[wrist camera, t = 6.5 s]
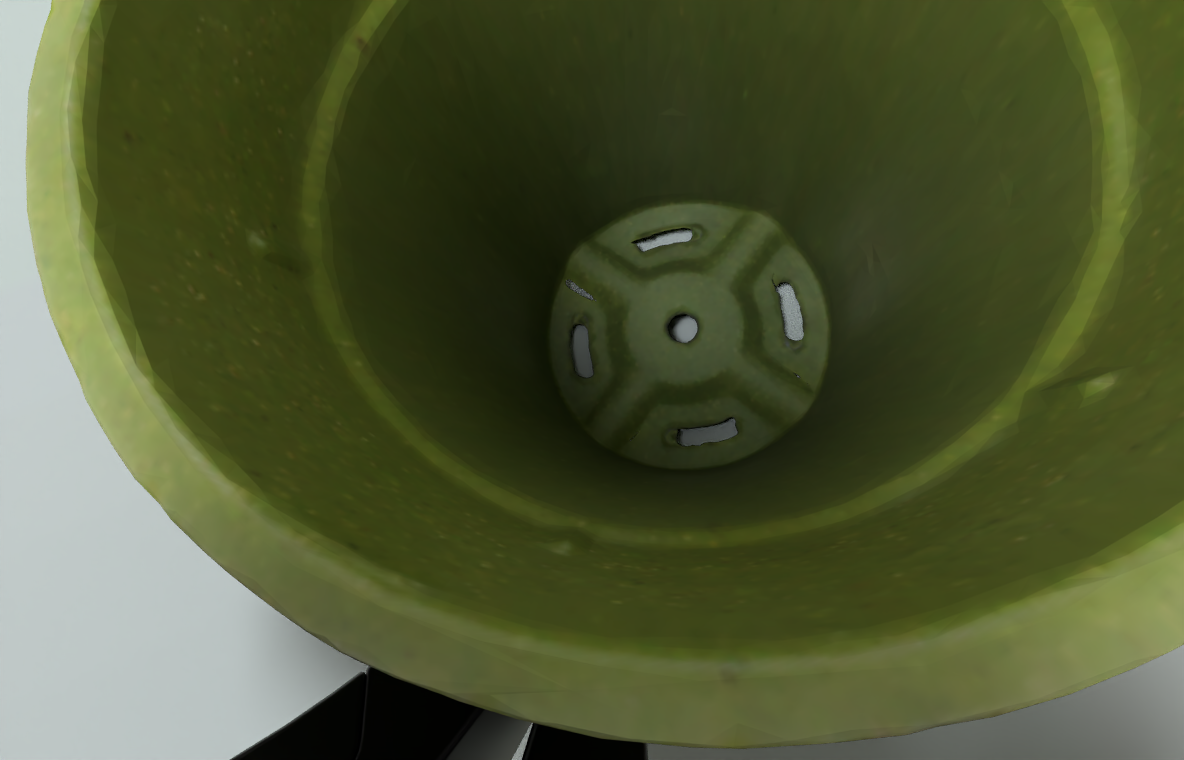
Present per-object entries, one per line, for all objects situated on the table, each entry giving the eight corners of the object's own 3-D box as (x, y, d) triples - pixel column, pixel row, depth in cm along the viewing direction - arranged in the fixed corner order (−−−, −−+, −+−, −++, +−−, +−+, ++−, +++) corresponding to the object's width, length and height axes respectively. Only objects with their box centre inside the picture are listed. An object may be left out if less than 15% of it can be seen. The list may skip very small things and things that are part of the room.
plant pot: (713, 54, 17) (764, -730, 6) (1035, 373, 14) (2187, -96, 3) (378, 302, 17) (-151, -70, 6) (631, 680, 14) (449, 1247, 3)
